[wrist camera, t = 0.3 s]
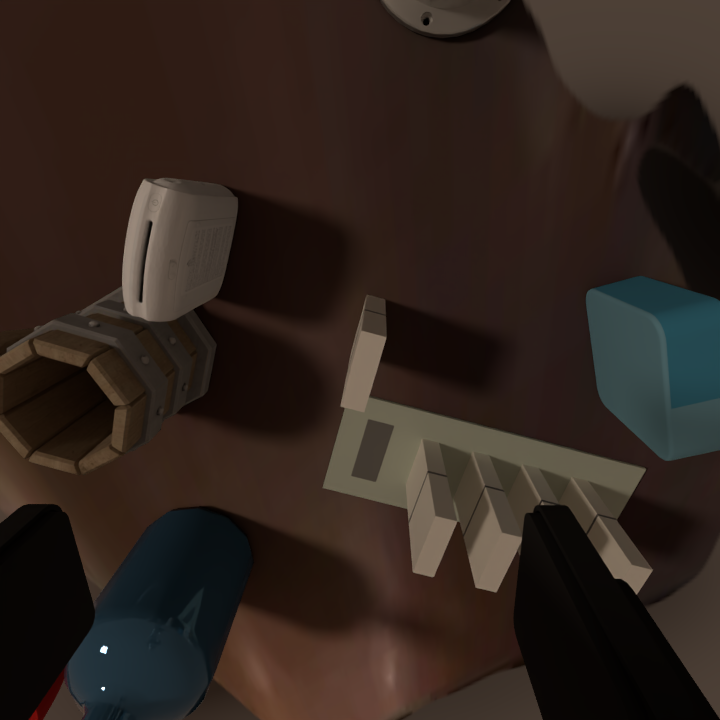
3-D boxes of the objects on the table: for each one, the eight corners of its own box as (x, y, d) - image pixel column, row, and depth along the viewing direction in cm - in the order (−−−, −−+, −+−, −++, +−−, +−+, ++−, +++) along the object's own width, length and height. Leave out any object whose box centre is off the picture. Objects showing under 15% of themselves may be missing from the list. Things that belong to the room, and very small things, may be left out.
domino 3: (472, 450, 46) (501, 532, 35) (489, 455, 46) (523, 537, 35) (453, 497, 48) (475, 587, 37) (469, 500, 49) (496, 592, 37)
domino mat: (349, 390, 45) (349, 392, 45) (644, 467, 47) (646, 469, 46) (323, 485, 49) (322, 487, 49) (594, 553, 51) (596, 555, 50)
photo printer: (197, 175, 39) (119, 166, 27) (245, 191, 39) (187, 188, 27) (178, 286, 42) (101, 320, 31) (222, 300, 42) (162, 339, 31)
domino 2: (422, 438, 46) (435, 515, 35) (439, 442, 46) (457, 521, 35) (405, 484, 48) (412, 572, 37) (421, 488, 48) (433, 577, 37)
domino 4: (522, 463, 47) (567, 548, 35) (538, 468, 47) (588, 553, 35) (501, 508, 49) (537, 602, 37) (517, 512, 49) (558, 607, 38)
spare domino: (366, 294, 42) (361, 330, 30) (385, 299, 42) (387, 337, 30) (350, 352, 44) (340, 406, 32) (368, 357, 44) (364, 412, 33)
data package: (645, 389, 44) (736, 456, 32) (597, 400, 44) (671, 470, 33) (634, 272, 40) (733, 301, 29) (582, 286, 40) (659, 320, 29)
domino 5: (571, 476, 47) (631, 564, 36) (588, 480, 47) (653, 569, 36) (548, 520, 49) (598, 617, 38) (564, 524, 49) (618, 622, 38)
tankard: (224, 308, 43) (147, 363, 29) (203, 419, 47) (127, 514, 33) (17, 247, 42) (-169, 273, 28) (14, 367, 46) (-147, 442, 32)
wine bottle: (144, 494, 51) (-151, 863, 23) (258, 509, 51) (105, 896, 23) (150, 584, 56) (-88, 981, 27) (254, 597, 56) (124, 1009, 27)
